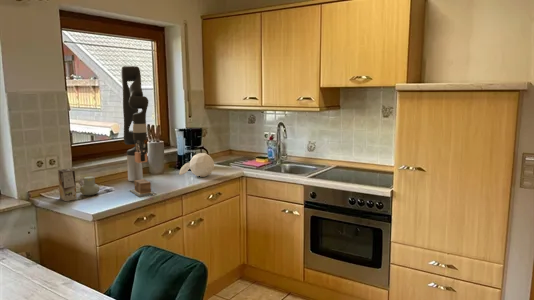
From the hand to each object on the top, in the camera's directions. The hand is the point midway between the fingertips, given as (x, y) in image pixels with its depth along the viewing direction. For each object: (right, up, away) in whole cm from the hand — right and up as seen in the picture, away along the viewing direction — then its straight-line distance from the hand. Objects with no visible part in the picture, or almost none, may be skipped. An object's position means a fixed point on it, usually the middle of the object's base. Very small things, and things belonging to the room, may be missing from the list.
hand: (141, 160), depth 234 cm
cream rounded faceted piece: (+23, -12, +51) cm, 57 cm away
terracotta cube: (0, -1, 0) cm, 1 cm away
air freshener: (-29, -20, -1) cm, 35 cm away
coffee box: (-37, -21, -10) cm, 44 cm away
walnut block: (0, -18, +3) cm, 18 cm away
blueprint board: (0, -19, +3) cm, 19 cm away
